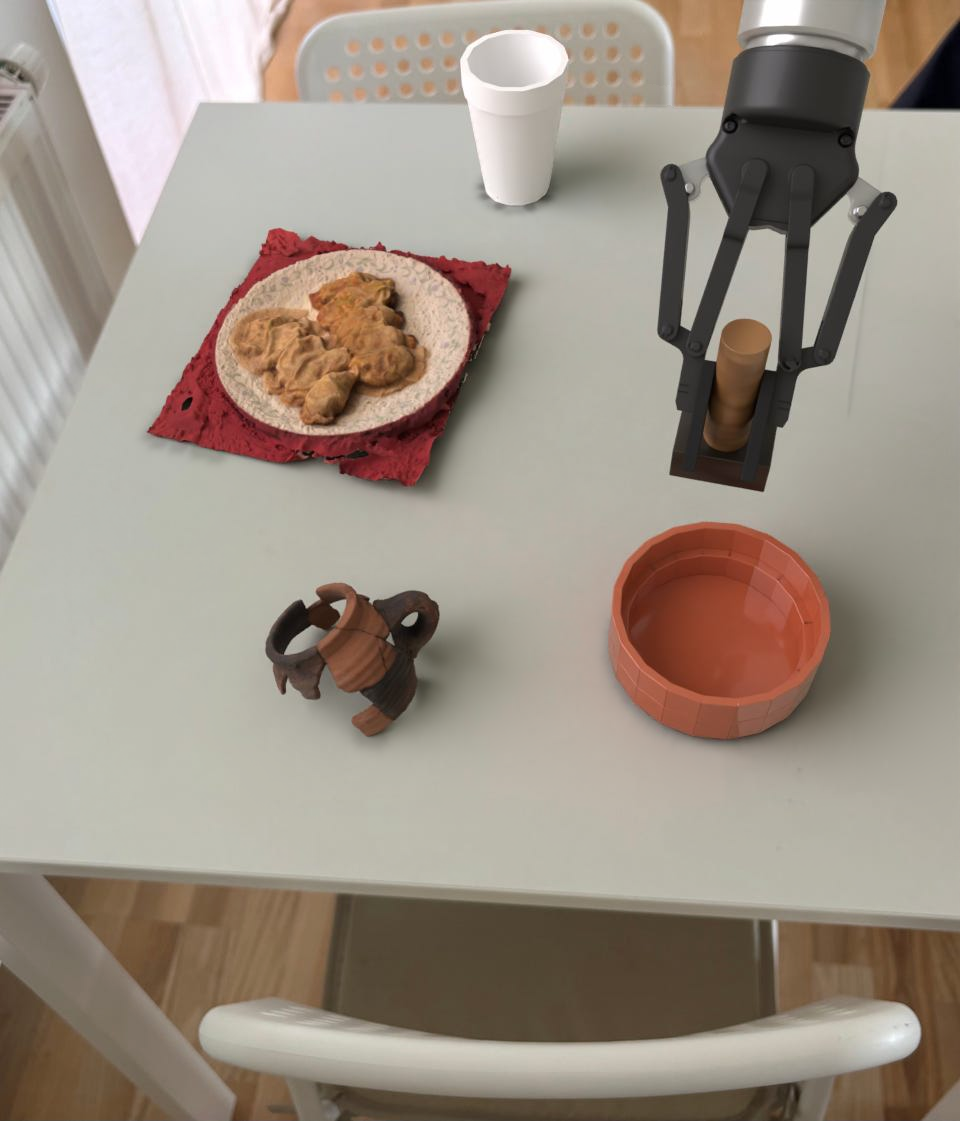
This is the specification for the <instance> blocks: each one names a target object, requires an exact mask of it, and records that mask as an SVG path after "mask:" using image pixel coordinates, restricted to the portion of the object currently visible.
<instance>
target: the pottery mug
mask: <svg viewBox="0 0 960 1121" xmlns="http://www.w3.org/2000/svg"><path fill="white" fill-rule="evenodd" d="M315 594H316V596H317V597H318V598H319V599H317V600H316V601H314V602H313V603H312V604H310V605H309V606H308V607H306V604H305V602H304V601H303V599H301V598H300V599H298V600H295V601H293V602H292V603H291V604H290V605H288V606H287V608H286V609H284V610H283V612H281V614H280V615H279V616H278V617H277V619H276V620H275V622H274V623H273V624H272V626H271V627H270V630H269V633H268V635H267V637H266V641H265V648H264V651H265V652H264V653H265V656H266V657H267V658H268V660H269V661H270V662H271V663H272V672H273V676H274V681H275V684H276V687H277V689H278V691H279V693H280V694H281V695H282V696H285V695H286V694H287V683H288V682H289V684H291V687H292V688H293V689H294V690H296V691H298V692H299V693H300V694H301V696H302V698H304V699H306V700H312V701H317V700H320V699H321V690H320V688H319V685H320V682H321V679H322V678H321V677H322V675H323V672H324V670H325V667H326V665H327V668H328V670H329V671H330V673H331V675H332V677H333V678H332V679H333V680H334V682H335V685H336V687H337V688H338V689H339V690H341V691H342V692H344V693H347V694H353V693H357V692H359V693H360V694H361V695H362V696H363V697H365V698H366V699H368V700H369V701H370V702H371V703H372V704H371V705H370V706H368V707H367V708H366V709H364V710H362V711H360V712H359V713H357V714H356V715H353V716H352V717H351V723H352V726H354V728H356V729H358V730H359V731H360V732H361V734H363V735H364V736H365V737H371V736H373V735H376V734H378V733H379V732H381V731H383V730H385V729H386V728H387V727H388V726H390V725H391V724H393V723H394V722H395V721H396V720H398V718H399V717H401V715H402V714H403V713H404V712H406V711H407V709H408V707H409V706H410V704H411V703H412V701H413V699H414V697H415V695H416V692H417V686H418V677H417V673H416V666H415V660H414V659H416V658H417V657H418V655H419V653H420V651H421V650H423V648H424V647H425V646H426V645H427V644H428V643H429V641H431V640H432V638H433V637H434V635H435V633H436V631H437V628H438V625H439V621H440V614H441V613H440V609H439V608H440V607H439V604H438V602H437V601H435V600H434V599H432V598H430V596H429V595H428V594H427V593H426V592H424V591H421V590H414V589H412V590H406V591H402V592H399V593H397V594H395V595H393V596H390V597H388V598H384V599H379V598H378V599H375V600H373V601H372V603H371V602H370V600H371V598H370V597H369V596H367V595H364V594H360V593H357V590H355V589H354V588H353V586H351V585H349V584H347V583H345V582H331V583H327V584H323V585H320V586H318V587H317V588H316V589H315ZM340 601H346V602H345V607H344V611H343V613H342V615H341V614H340V611H339V610H338V609H336V608H335V607H333V606H332V604H334V603H336V602H340ZM415 613H417V618H416V619H415V621H414V623H413V624H411V625H409V626H408V625H404V624H403V622H404V620H405V619H406V618H407V617H408V616H410V615H412V614H415ZM311 626H314V627H316V628H318V629H321V630H323V631H329V630H330V629H331V628H332V627H333V626H334V627H333V628H332V629H331V630H330V631H329V632H328V633H327V635H325V636H324V637H323V638H322V639H320V640H319V641H318V642H316V644H315V645H313V646H310V647H309V648H306V649H304V650H302V651H300V652H296V653H290V654H285V653H286V651H287V649H288V647H289V645H290V643H292V641H293V640H294V639H295V638H296V637H297V636H298V635H300V634H301V633H303V632H304V631H306V630H307V629H309V628H310V627H311ZM390 635H391V639H392V642H393V643H391V642H390V641H388V640H387V639H388V638H389V637H390Z"/></svg>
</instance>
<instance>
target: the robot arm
mask: <svg viewBox="0 0 960 1121" xmlns="http://www.w3.org/2000/svg"><path fill="white" fill-rule="evenodd" d="M887 2H888V0H743V4H742V8H741V14H740V15H741V16H740V20H739V26H738V31H737V38H736V40H737V43H738V45H739V46H740V48H741V49H742V51H741V52H739V53H738V54H737V56H736V57H734V58H733V60H732V64H731V69H730V73H729V79H728V85H727V89H726V95H725V100H724V104H723V110H722V115H721V121H720V126H719V130H718V133H717V135H716V136H715V139H714V140H713V141H712V142H711V144H710V145H709V146H708V147H707V150H706V152H705V156H703V157H700V158H697V159H695V160H692V161H689V162H686V163H684V164H680V165H677V164H676V163H675V164H673V163H668V164H666V165H664V166H663V167H662V168H661V170H660V173H659V177H660V178H659V179H660V183H661V186H662V190H663V194H664V197H665V198H664V199H665V201H666V205H667V214H666V226H665V235H664V236H665V237H664V249H663V257H662V258H663V260H662V271H661V281H660V282H661V283H660V292H659V306H658V315H657V316H658V317H657V325H656V326H657V329H656V332H657V336H658V337H659V339H661V340H662V341H664V342H666V343H668V344H669V345H671V346H673V347H675V348H676V349H678V350H679V352H680V353H681V355H682V364H681V368H680V373H679V374H680V375H679V379H678V386H677V390H676V391H677V392H676V395H675V399H674V400H675V407H676V410H677V411H681V412H682V411H685V412H691V413H693V415H692V420H691V425H690V430H689V435H688V440H687V445H686V451H685V456H684V461H683V466H682V470H685V471H690V472H695V469H696V465H697V460H698V455H699V450H700V445H701V440H702V435H703V430H704V425H705V420H706V415H707V410H708V405H709V399H710V394H711V388H712V383H713V377H714V372H715V367H716V360H708V359H706V357H707V352H708V350H709V346H710V343H711V340H712V337H713V335H714V331H715V329H716V326H717V323H718V320H719V317H720V314H721V311H722V308H723V306H724V303H725V300H726V297H727V294H728V291H729V288H730V285H731V282H732V279H733V277H734V274H735V271H736V268H737V265H738V262H739V261H740V260H739V259H740V256H741V254H742V251H743V248H744V245H745V243H746V240H747V237H748V234H749V232H750V231H760V230H761V231H762V230H769V231H772V232H775V233H778V234H779V235H784V236H785V237H784V256H783V270H782V271H783V272H782V276H783V277H782V286H781V287H782V288H781V302H780V306H781V307H780V317H779V318H780V320H779V332H778V333H779V334H778V349H777V364H776V368H775V370H771V369H766V368H765V370H764V374H763V378H762V382H761V387H760V391H759V395H758V399H757V404H756V408H755V412H754V416H753V421H752V426H751V431H750V436H749V441H748V445H747V450H746V455H745V460H744V465H743V469H742V474H741V481H746V482H752V483H754V482H755V477H756V472H757V468H758V463H759V458H760V453H761V449H762V444H763V439H764V435H765V430H766V425H768V426H774V427H777V428H780V429H783V428H784V427H785V425H786V424H787V422H788V421H789V417H790V414H791V408H792V403H793V398H794V394H795V390H796V386H797V380H798V377H799V376H800V374H801V373H802V372H804V371H805V370H808V369H813V368H819V367H824V366H825V367H826V366H828V365H830V364H832V363H833V362H834V361H835V359H836V356H837V353H838V351H839V350H838V349H839V347H840V344H841V340H842V338H843V334H844V332H845V329H846V325H847V323H848V319H849V316H850V315H851V310H852V307H853V305H854V302H855V298H856V295H857V293H858V289H859V286H860V283H861V280H862V277H863V273H864V271H865V268H866V264H867V261H868V258H869V255H870V252H871V249H872V247H873V243H874V240H875V237H876V235H877V234H878V232H879V231H880V230H881V229H882V227H883V226H884V224H885V223H886V222H887V220H888V219H889V218H890V216H891V215H892V214H893V213H894V212H895V210H896V208H897V206H898V197H897V196H896V194H895V193H893V192H891V191H881V190H880V189H877V188H876V187H875V186H873V185H872V184H870V183H868V182H867V181H866V180H864V179H863V178H861V177H860V176H859V175H860V166H859V162H858V159H857V153H856V145H857V140H858V135H859V130H860V126H861V120H862V116H863V113H864V112H863V111H864V107H865V102H866V98H867V94H868V93H867V92H868V89H869V83H870V78H871V72H870V70H869V68H868V67H867V65H866V64H865V63H866V62H867V61H868V60H870V59H871V58H873V57H874V56H875V54H876V52H877V47H878V43H879V38H880V33H881V28H882V24H883V19H884V14H885V9H886V5H887ZM708 178H709V179H710V181H711V184H712V185H713V188H714V190H715V193H716V194H717V196H718V199H719V200H720V203H721V205H722V207H723V209H724V212H725V213H726V215H727V217H728V219H727V221H726V224H725V227H724V231H723V234H722V237H721V240H720V244H719V246H718V250H717V252H716V255H715V258H714V261H713V264H712V266H711V270H710V273H709V276H708V279H707V281H706V285H705V287H704V290H703V293H702V296H701V299H700V302H699V305H698V307H697V310H696V313H695V317H694V320H693V322H692V326H691V328H690V329H688V328H686V327H684V326H683V325H682V315H683V304H684V301H683V300H684V292H685V284H686V283H685V282H686V271H687V261H688V250H689V249H688V248H689V240H690V239H689V237H690V227H691V205H690V204H691V203H694V202H696V201H697V200H699V198H700V196H701V193H702V184H703V182H704V181H705V180H706V179H708ZM845 196H847V197H848V199H849V201H850V206H849V208H848V211H847V219H848V221H849V222H850V223H851V224H852V225H853V227H852V230H851V231H850V233H849V235H848V238H847V241H846V243H845V246H844V248H843V253H842V255H841V259H840V262H839V265H838V269H837V271H836V274H835V277H834V281H833V283H832V287H831V290H830V293H829V296H828V299H827V302H826V305H825V309H824V311H823V315H822V318H821V321H820V324H819V328H818V330H817V333H816V336H815V340H814V343H813V346H812V345H811V346H807V347H803V339H804V338H803V337H804V323H805V322H804V321H805V306H806V294H807V279H808V266H809V251H810V242H811V229H812V228H813V227H814V226H815V225H816V224H817V223H818V222H819V221H820V220H821V219H822V218H823V217H824V216H826V214H827V213H828V212H830V211H831V209H833V208H834V207H835V206H836V205H837V204H838V203H839V202H840V201H841V200H842V199H843V198H844V197H845Z"/></svg>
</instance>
